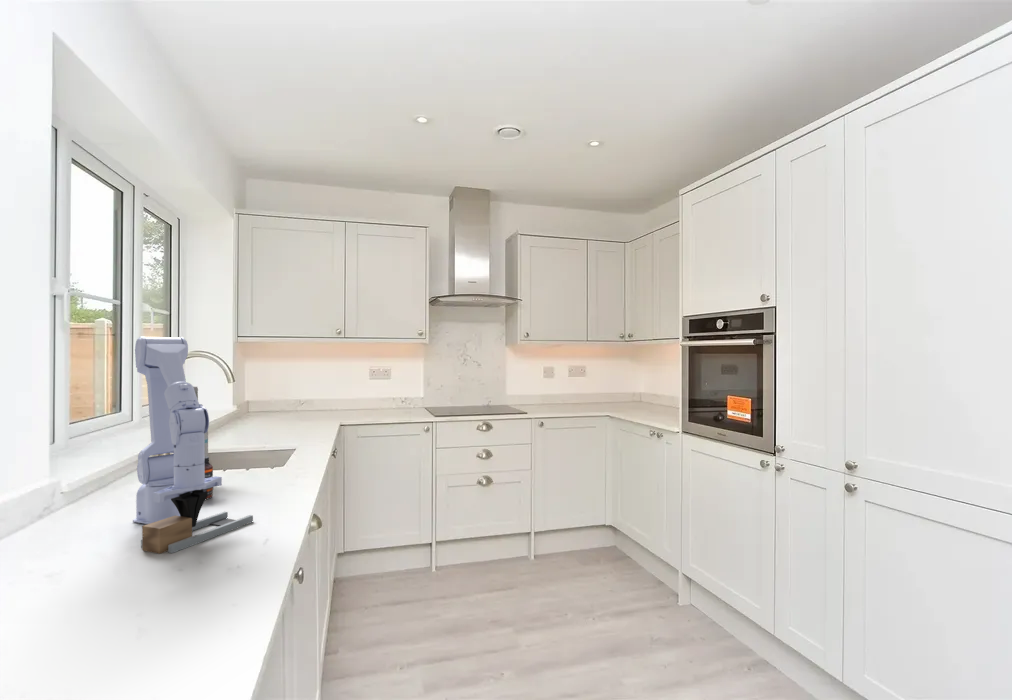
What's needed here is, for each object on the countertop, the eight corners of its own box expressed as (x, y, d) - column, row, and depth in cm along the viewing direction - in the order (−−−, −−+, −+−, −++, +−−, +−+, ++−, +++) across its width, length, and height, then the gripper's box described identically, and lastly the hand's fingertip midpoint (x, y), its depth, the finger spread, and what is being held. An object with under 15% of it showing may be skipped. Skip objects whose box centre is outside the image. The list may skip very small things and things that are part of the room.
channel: (141, 547, 106) (140, 540, 106) (224, 517, 125) (224, 511, 125) (171, 553, 103) (171, 545, 103) (252, 521, 121) (252, 515, 121)
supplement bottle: (201, 502, 138) (201, 460, 138) (182, 501, 139) (182, 459, 139) (217, 496, 143) (217, 455, 143) (199, 495, 145) (199, 454, 145)
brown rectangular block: (142, 550, 104) (142, 525, 104) (175, 538, 111) (175, 515, 111) (159, 553, 102) (159, 528, 102) (192, 541, 109) (191, 517, 109)
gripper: (170, 472, 103) (170, 540, 103) (231, 458, 117) (231, 518, 117) (145, 470, 105) (146, 536, 105) (208, 456, 119) (208, 515, 119)
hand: (189, 526), depth 111 cm, fingers closed
